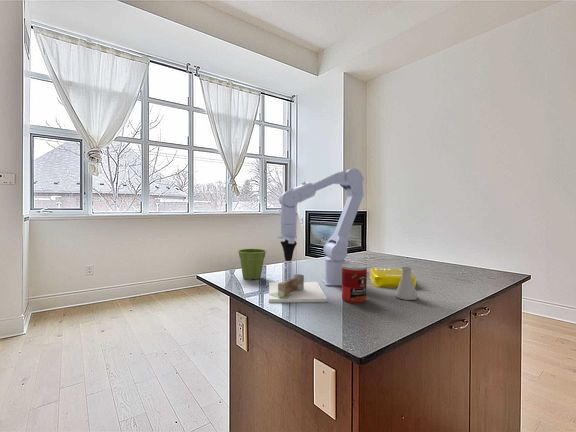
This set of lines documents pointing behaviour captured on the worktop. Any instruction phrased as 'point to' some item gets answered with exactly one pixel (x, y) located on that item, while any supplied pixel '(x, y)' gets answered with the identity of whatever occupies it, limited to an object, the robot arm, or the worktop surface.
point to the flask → (406, 286)
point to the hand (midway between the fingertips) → (288, 260)
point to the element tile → (387, 277)
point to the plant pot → (252, 262)
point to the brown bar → (291, 285)
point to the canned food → (354, 283)
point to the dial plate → (298, 294)
